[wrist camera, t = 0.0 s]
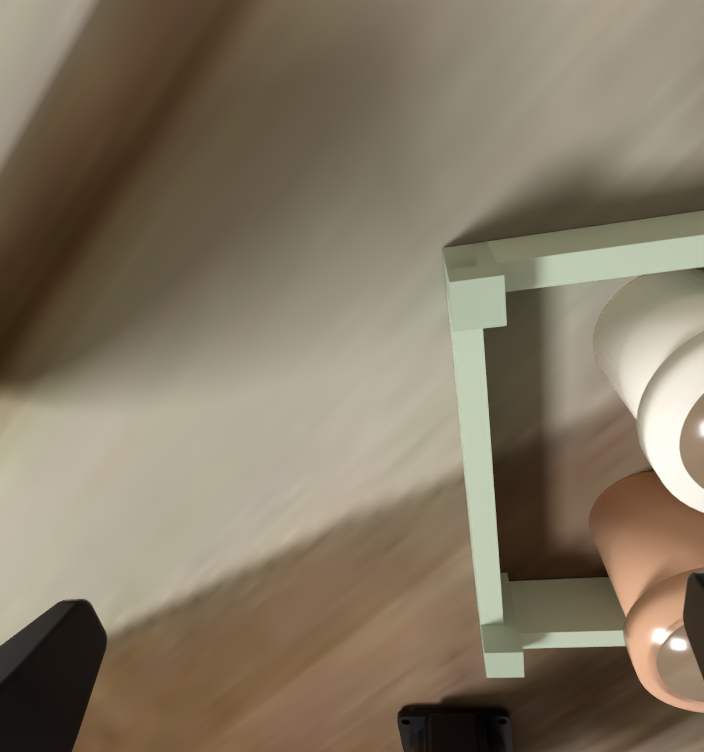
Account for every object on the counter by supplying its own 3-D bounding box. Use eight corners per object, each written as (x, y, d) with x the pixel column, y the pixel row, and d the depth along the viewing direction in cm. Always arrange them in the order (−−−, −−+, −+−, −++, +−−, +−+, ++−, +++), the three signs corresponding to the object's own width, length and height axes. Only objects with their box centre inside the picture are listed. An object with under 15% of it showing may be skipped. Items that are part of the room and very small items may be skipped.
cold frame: (828, 583, 25) (904, 671, 21) (476, 597, 28) (486, 677, 24) (942, 176, 18) (1093, 196, 14) (442, 247, 20) (449, 282, 16)
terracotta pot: (714, 563, 25) (813, 715, 19) (579, 570, 26) (631, 716, 20) (730, 457, 23) (851, 592, 17) (580, 468, 24) (640, 599, 18)
